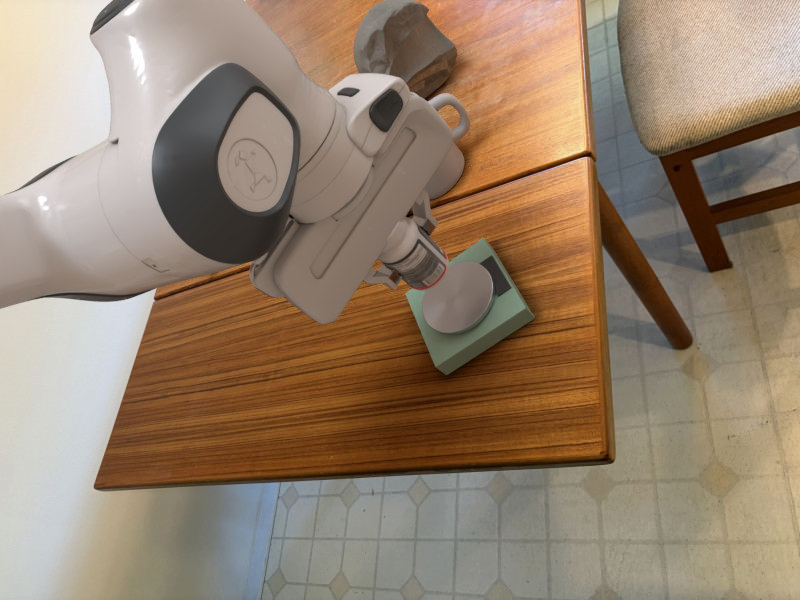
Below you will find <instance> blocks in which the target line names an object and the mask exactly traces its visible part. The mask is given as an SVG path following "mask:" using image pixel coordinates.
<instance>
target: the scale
mask: <svg viewBox="0 0 800 600" xmlns="http://www.w3.org/2000/svg"><path fill="white" fill-rule="evenodd" d="M459 262H474V263H478V264H480V265H482V266H483V267H485V268H486V269H487V271H488V272H489V273H490V274H491V276H492V278H493V280H494V284H495V296H494V300H493V303H492V306H491V308H490V310H489V312H488V313H487V315H486V316H485V317H484V318H483V319H482V321H481V322H479V323H478V324H477V325H476V326H475V327H473V328H471V329H470V330H468V331H466V332H463V333H460V334H455V335H446V334H442V333H439V332H437V331H435V330H434V329H433V328H431V327H430V326H429V325H428V323H427V322H426V320H425V318H424V315H423V309H422V305H423V298H424V295H425V292H426V290H425V291H419V290H415V289H413V288H412V287H411V288H410V289H409V290H408V291H406V292H405V293H404V295H405V297H406V299H407V301H408V304H409V306H410V309H411V312H412V314H413V316H414V319H415V321H416V324H417V326H418V329H419V331H420V333H421V336H422V339H423V340H424V343H425V346H426V348H427V350H428V352H429V356H430V358H431V361H432V363H433V365H434V367H435V368H436V369H437V370H439V371H440V372H441V373H442V374H444V375H445V376H448V375H449V374H452V373H453V372H454V371H456V370H457V369H459V368H461V367H462V366H463V365H465V364H467V363H468V362H470V361H471V360H473V359H474V358H476V357H478V356H479V355H481V354H482V353H483V352H485V351H487V350H488V349H490V348H491V347H493V346H494V345H496V344H498V343H499V342H500V341H502V340H504V339H506V338H507V337H508V336H510V335H512V334H513V333H515V332H516V331H518V330H520V329H521V328H522V327H524V326H526V325H527V324H528V323H530V322H532V321H533V320H535V319H536V316H535V315H534V313H533V312H532V310H531V309H530V306H529V305H528V304H527V302H526V300H525V299H524V297H523V295H522V293H521V292H520V291H519V288H518V287H517V286H516V283H515V282H514V280H513V278H512V277H511V275H510V274H509V273H508V271H507V269H506V267H505V266H504V264H503V262H502V261H501V259H500V257H499V256H498V253H496V251H495V249H494V248H493V246H492V245H491V244H490V243H489V242H488V241H487V240H486V239H485V237H482V238H481V239H479V240H478V241H476V242H475V243H473V244H472V245H471V246H469V247H468V248H467V249H465V250H464V251H462V252H461V253H459V254H458V255H457V256H455V257H453V259H451V260H449V265H448V267H449V266H451V265H453V264H456V263H459Z"/></svg>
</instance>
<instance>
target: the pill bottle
mask: <svg viewBox="0 0 800 600" xmlns="http://www.w3.org/2000/svg"><path fill="white" fill-rule="evenodd" d="M387 241H388V243H387V245H386V246H385V248H384V249H383V251H382V252H381V254H380V255H379V257H378V258H377V260H378V261H379V262H381V264H384V265H386V266H387V267H390V268H393V269H394V270H396V271H397V272H398V274H400V275H401V276H403V278H402V280H401V281H403V282H405V283H406V284H407V286H409V287H410V288H411V289H412V288H413V289H415V290H419V291H425V290H429V289H432V288H433V287H435V286H437V285H438V284H439V283H440V282H441V281H442V280H443V278H444V277H445V275H446V273H447V270H448V265H449V262H450V260H449V258H448V255H447V253H446V251H444V250H443V248H441V247H440V245H439V244H438V243H436V242H435V241H434V240H433V239H432V237H431V236H428V235H427V234H426V233H425V232H424V231H423V230H422V229H421V228H420V227H419V226H418V225H417V224H416V222H414V221H413V220H412V218H411V217H408V216H407V217H405V218H404V219H403V221H402V222H400V221H399V222H398V223H397V224H396V226H395V227H394V229H393V230H392V232H391V233H390V235H389V236H388V238H387Z"/></svg>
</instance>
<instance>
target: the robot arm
mask: <svg viewBox="0 0 800 600" xmlns="http://www.w3.org/2000/svg"><path fill="white" fill-rule="evenodd" d="M89 40H90V42H91V43H92V45H93V46H94V48H95V50H96V51H97V52H98V53H99V55H100V57H101V60H102V63H103V66H104V71H105V75H106V76H105V77H106V79H107V84H108V91H109V93H108V94H109V101H110V124H109V132H108V136H107V138H105V139H104V140H102V141H100V142H98V143H96V144H95V145H93V146H91V147H90V148H88V149H86V150H85V151H83V152H81V153H78V154H76V155H74V156H71V157H69V158H66V159H65V160H62V161H60V162H58V163H55V164H53V165H52V166H50V167H48V168H46V169H44V170H43V171H41V172H39V173H38V174H37V175H35V176H34V177H33V178H32V179H30V180H28V181H27V182H26V183H24V184H23V185H21V187H19V188H16V189H14V190H13V191H10V192H7V193H4V194H0V310H2V309H5V308H9V307H12V306H15V305H19V304H22V303H26V302H29V301H35V300H40V299H52V298H54V299H66V300H76V301H84V302H95V303H97V302H98V303H111V302H113V303H114V302H121V301H126V300H129V299H132V298H135V297H138V296H141V295H144V294H146V293H149V292H151V291H154V290H156V289H158V288H163V287H165V286H169V285H174V284H177V283H178V284H179V283H181V282H185V281H189V280H193V279H196V278H201V277H204V276H208V275H212V274H215V273H219V272H223V271H227V270H230V269H233V268H236V267H240V266H242V265H245V264H247V263H250V262H251V264H250V267H249V270H248V271H249V272H248V273H249V276H248V277H249V280H250V283H251V284H252V286H253V287H254V288H255V289H256V290H258V291H259V292H261V293H263V294H264V295H266V296H268V297H269V298H274V299H279V298H284V299H285V300H286V301H287V302H288V303H289V304H291V305H292V306H293V307H294V308H296V309H298V310H299V311H300V312H302V313H303V314H304V315H306V316H307V317H308V318H310V319H312V320H313V321H315V322H316V323H318V324H320V325H327V324H332V323H335V322H336V321H338V319H339V317H340V316H341V314H342V313H343V311H344V310H345V308H346V307H347V306H348V304H349V302H350V300H351V299H352V298H353V296H354V294H355V293H356V292H357V290H358V288H359V287H360V285H362V282H364V283H366V284H367V285H380V284H381V285H384V286H385V287H386V288H388V289H391V290H393V291H396V289H397V288H398V286H399V285H400V283H401V282H402V281H403V280H402V278H403V276H401V275H400V274H398V272H397V271H396V270H394V269H393V268H390V267H387V266H386V265H385V264H383V263H381V265H380V266H379V267H378V268H377V270H376V268H374V267H373V266H374V265H375V263H376V262H377V260H378V257H379V255H380V254H381V252H382V251H383V249H384V248H385V246H386V245H387V243H388V241H387V238H388V236H389V235H390V233H391V232H392V230H393V229H394V227H395V226H396V224H397V223H398V222H399V221H400V222H402V221H403V219H404V218H405V216H406V215H407V213H408V212H409V213H410V210H412V214H413V216H412V218H411V219H412V220H413V221H414V222H416V224H417V225H418V226H419V227H420V228H421V229H422V230H423V231H424V232H425V233H426V234H427V235H428V236H429V237H431V236H432V234H433V232H434V231H435V230H436V228H437V227H438V225H439V221H438V220H437V219H436V218H435V217H434V216H433V215H432V214H431V213H432V208H431V202H430V201H431V200H429V194H428V193H427V192H426V190H425V189H424V188H425V186H426V185H427V183H428V182H429V180H430V179H431V177H432V176H433V174H434V173H435V171H436V170H437V168H438V167H439V165H440V164H441V162H442V161H443V159H444V158H445V156H446V155H447V153H448V152H449V150H450V149H451V147H452V131H451V130H452V129H451V127H450V125H449V124H448V123H447V122H446V120H445V119H444V117H443V116H442V115H441V114H440V113H439V111H438V112H437V111H436V110H435V109H434V108H433V107H432V106H431V105H430V104H429V103H428V101H427V100H426V98H425V99H423V98H422V97H419V96H416V95H410V90H409V88H408V86H407V84H406V83H405V82H404V80H403V79H401V78H399V77H396V76H392V75H386V74H378V73H359V72H358V73H352V74H349V75H347V76H345V77H344V78H342V79H341V80H340V81H339V82H337V83H336V84H335V85H334V86H332V87H331V88H329V89H328V90H327V89H326V88H325V87H324V86H323V85H321V84H319V83H317V82H315V81H314V80H312V78H310V77H309V76H308V75H307V74H306V73H305V72H304V70H303V69H302V68H301V66H300V64H299V62H298V60H297V58H296V56H295V54H294V52H293V51H292V49H291V48H290V46H288V44H287V43H286V42H285V41H284V40H283V38H281V36H279V34H277V32H276V31H275V30H274V29H273V28H272V26H270V25H269V24H268V23H267V21H265V20H264V19H263V17H262V16H260V14H259V13H258V12H257V11H256V10H255V9H254V8H253V7H252V6H251V5H250V4H249V3H248V2H246V0H111V1H110V2H109V3H108V4H107V5H106V6H105V7H104V8H102V9H101V10H100V11H99V13H98V14H97V15H96V17H95V18H94V20H93V23H92V26H91V29H90V30H89Z"/></svg>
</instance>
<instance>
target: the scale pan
mask: <svg viewBox="0 0 800 600" xmlns="http://www.w3.org/2000/svg"><path fill="white" fill-rule="evenodd" d="M494 296H495V284H494V280H493V278H492V276H491V274H490V273H489V272H488V271H487V269H486V268H485V267H483V266H482V265H480V264H478V263H474V262H459V263H456V264H453V265H451V266H449V267H448V270H447V273H446V275H445V277H444V278H443V280H442V281H441V282H440V283H439V284H438V285H437V286H435V287H433V288H432V289H429V290H426V292H425V295H424V298H423V305H422V309H423V315H424V318H425V320H426V322H427V323H428V325H429V326H430V327H431V328H433V329H434V330H435V331H437V332H439V333H442V334H446V335H455V334H460V333H463V332H466V331H468V330H470V329H471V328H473V327H475V326H476V325H477V324H478V323H479V322H481V321H482V319H483V318H484V317H485V316H486V315H487V313H488V312H489V310H490V308H491V306H492V303H493V300H494Z"/></svg>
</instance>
